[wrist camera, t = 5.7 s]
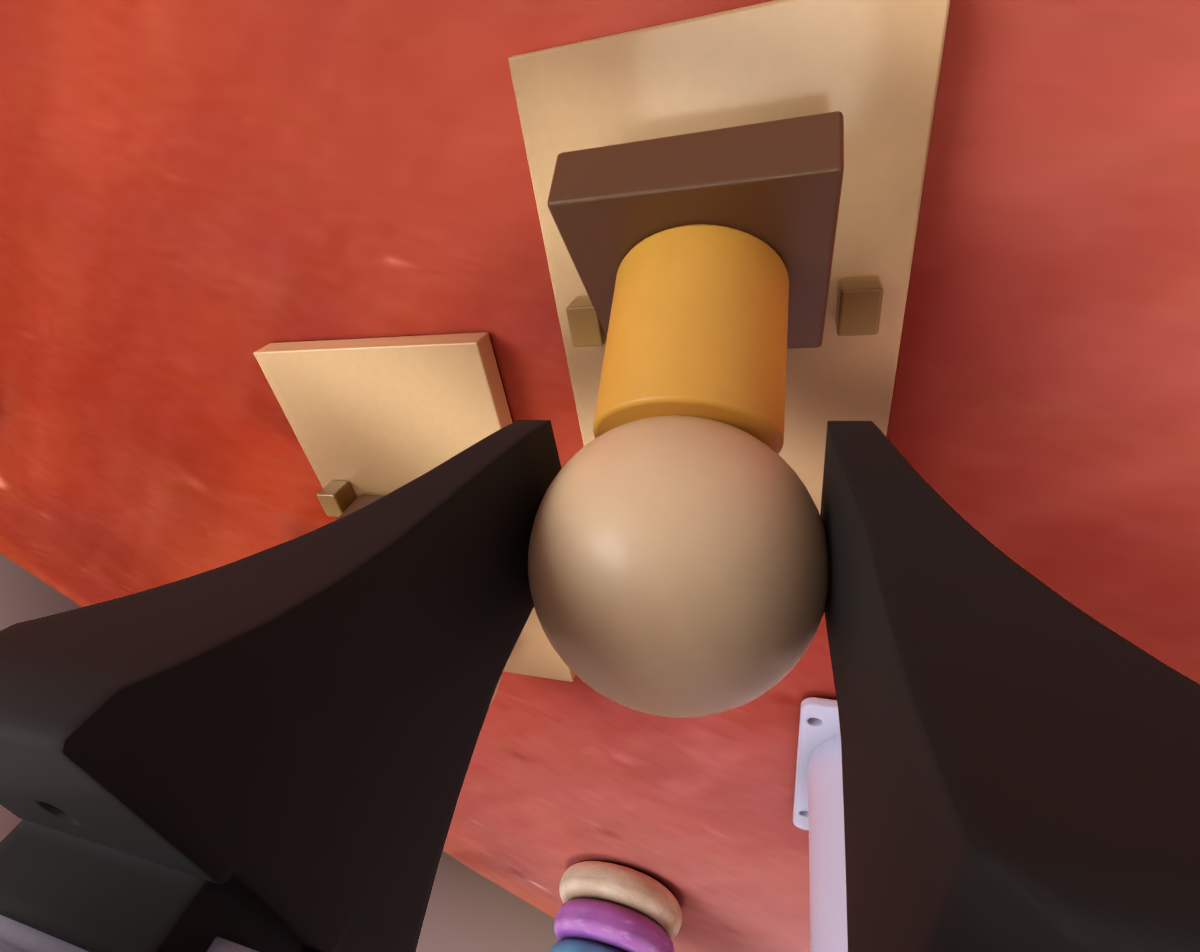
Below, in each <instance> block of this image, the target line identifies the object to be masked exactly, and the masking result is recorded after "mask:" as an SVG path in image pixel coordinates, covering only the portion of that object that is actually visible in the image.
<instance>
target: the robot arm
mask: <svg viewBox="0 0 1200 952" xmlns="http://www.w3.org/2000/svg"><path fill="white" fill-rule="evenodd" d="M560 470H561V465H560V461H559V456H558V452H557V447H556V443H555V439H554V434H553V430H552V425H551V421H550V420H519V421H516V422H514V423H512V424H509V425H507V426H505V427H503V428H502V429H500V430H498V431H496V432H494V433H492V434H491V435H489V436H487V437H486V438H484V439H482V440H480V441H479V442H477V443H475V444H474V445H472V446H470V447H469V448H467V449H465V450H464V451H462V452H460V453H459V454H457V455H455V456H454V457H452V458H450V459H449V460H447V461H445V462H444V463H442V464H440V465H439V466H437V467H435V468H433V469H432V470H430V471H428V472H427V473H425V474H423V475H421V476H420V477H418V478H416V479H414V480H412V481H411V482H409V483H407V484H405V485H403V486H402V487H400V488H398V489H396V490H394V491H393V492H391V493H389V494H387V495H385V496H384V497H382V498H380V499H378V500H376V501H375V502H373V503H371V504H369V505H367V506H365V507H363V508H361V509H359V510H357V511H355V512H353V513H351V514H349V515H347V516H345V517H343V518H340V519H338V520H336V521H334V522H332V523H329V524H327V525H325V526H323V527H321V528H318V529H316V530H314V531H312V532H310V533H307V534H305V535H303V536H300V537H298V538H295V539H293V540H290V541H288V542H285V543H283V544H280V545H277V546H275V547H272V548H270V549H267V550H264V551H262V552H259V553H257V554H254V555H251V556H249V557H246V558H244V559H241V560H238V561H236V562H233V563H230V564H228V565H225V566H222V567H219V568H216V569H213V570H210V571H207V572H204V573H201V574H198V575H195V576H192V577H189V578H186V579H182V580H179V581H176V582H172V583H169V584H166V585H163V586H159V587H156V588H153V589H149V590H146V591H143V592H139V593H136V594H132V595H128V596H125V597H121V598H118V599H114V600H110V601H106V602H102V603H98V604H94V605H90V606H86V607H82V608H78V609H74V610H70V611H66V612H63V613H58V614H54V615H50V616H47V617H42V618H38V619H34V620H30V621H25V622H21V623H17V624H14V625H12V626H10V627H8V628H6V629H4V630H2V631H0V804H1V805H2V806H3V807H5V808H6V809H8V810H9V811H11V812H12V813H13V814H15V815H16V816H18V817H19V818H21V819H23V820H22V821H21V822H20V823H19V824H18V825H17V826H16V827H15V828H14V829H13V830H12V831H11V832H10V833H9V834H8V835H7V836H6V837H5V838H4V839H3V840H2V841H1V842H0V952H415V951H416V947H417V943H418V939H419V935H420V932H421V928H422V924H423V920H424V916H425V912H426V909H427V905H428V901H429V897H430V894H431V890H432V886H433V882H434V879H435V875H436V871H437V867H438V863H439V860H440V857H441V854H442V850H443V847H444V844H445V840H446V837H447V833H448V830H449V827H450V823H451V820H452V817H453V813H454V810H455V807H456V803H457V800H458V796H459V793H460V790H461V787H462V784H463V781H464V778H465V775H466V772H467V769H468V766H469V763H470V760H471V757H472V754H473V751H474V748H475V745H476V742H477V739H478V736H479V733H480V730H481V728H482V725H483V722H484V719H485V717H486V714H487V711H488V708H489V705H490V703H491V700H492V697H493V694H494V692H495V689H496V686H497V684H498V681H499V679H500V677H501V674H502V672H503V670H504V668H505V665H506V663H507V661H508V659H509V657H510V655H511V652H512V650H513V648H514V646H515V644H516V642H517V640H518V638H519V636H520V634H521V632H522V630H523V628H524V626H525V624H526V622H527V620H528V618H529V616H530V614H531V612H532V609H533V607H534V603H533V599H532V595H531V591H530V585H529V577H528V550H529V542H530V536H531V532H532V528H533V523H534V520H535V516H536V514H537V511H538V509H539V506H540V503H541V501H542V499H543V497H544V495H545V493H546V491H547V489H548V487H549V486H550V484H551V483H552V481H553V480H554V478H555V477H556V475H557V474H558V472H559V471H560ZM820 517H821V520H822V522H823V525H824V528H825V534H826V540H827V547H828V561H829V588H828V595H827V601H826V605H825V610H824V612H825V619H826V627H827V634H828V641H829V648H830V655H831V662H832V669H833V676H834V684H835V691H836V698H837V700H831V699H824V698H817V697H809V698H806V699H804V700H803V701H802V703H801V710H800V724H799V738H798V752H797V766H796V780H795V794H794V808H793V823H794V825H795V826H796V827H798V828H800V829H803V830H807V831H809V877H810V947H811V952H1200V685H1199V684H1198V683H1196V682H1194V681H1192V680H1191V679H1189V678H1187V677H1186V676H1184V675H1182V674H1181V673H1179V672H1177V671H1175V670H1174V669H1172V668H1170V667H1169V666H1167V665H1165V664H1164V663H1162V662H1160V661H1159V660H1157V659H1156V658H1154V657H1153V656H1151V655H1149V654H1148V653H1146V652H1145V651H1143V650H1142V649H1140V648H1138V647H1137V646H1135V645H1134V644H1132V643H1131V642H1129V641H1127V640H1126V639H1124V638H1123V637H1121V636H1120V635H1118V634H1116V633H1115V632H1113V631H1112V630H1110V629H1109V628H1107V627H1105V626H1104V625H1102V624H1101V623H1099V622H1098V621H1096V620H1095V619H1093V618H1092V617H1090V616H1089V615H1087V614H1086V613H1084V612H1083V611H1081V610H1080V609H1078V608H1077V607H1075V606H1074V605H1072V604H1071V603H1070V602H1068V601H1067V600H1065V599H1064V598H1062V597H1061V596H1060V595H1058V594H1057V593H1056V592H1054V591H1053V590H1051V589H1050V588H1049V587H1047V586H1046V585H1045V584H1043V583H1042V582H1041V581H1039V580H1038V579H1037V578H1035V577H1034V576H1033V575H1031V574H1030V573H1029V572H1027V571H1026V570H1025V569H1023V568H1022V567H1021V566H1019V565H1018V564H1017V563H1015V562H1014V561H1013V560H1011V559H1010V558H1009V557H1008V556H1006V555H1005V554H1004V553H1003V552H1001V551H1000V550H999V549H998V548H996V547H995V546H994V545H993V544H992V543H990V542H989V541H988V540H987V539H986V538H985V537H984V536H982V535H981V534H980V533H979V532H978V531H977V530H976V529H974V528H973V527H972V526H971V525H970V524H969V523H968V522H966V521H965V520H964V519H963V518H962V517H961V516H960V515H959V514H958V513H957V512H956V511H955V510H954V509H953V508H951V507H950V506H949V505H948V504H947V503H946V502H945V501H944V500H943V499H942V498H941V496H940V495H939V494H938V493H937V492H936V491H935V490H934V489H933V488H932V487H931V486H930V485H929V484H928V483H927V482H926V481H925V480H924V479H923V478H922V477H921V476H920V475H919V474H918V473H917V472H916V471H915V470H914V468H913V467H912V466H911V465H910V464H909V463H908V462H907V461H906V459H905V458H904V457H903V456H902V455H901V454H900V453H899V451H898V450H897V449H896V448H895V447H894V446H893V444H892V443H891V442H890V441H889V440H888V438H887V437H886V436H885V435H884V434H883V433H882V431H881V430H880V429H879V428H878V427H877V426H876V425H875V424H874V423H873V422H872V421H827V434H826V446H825V459H824V472H823V485H822V498H821V511H820Z"/></svg>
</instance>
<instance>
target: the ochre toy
mask: <svg viewBox="0 0 1200 952" xmlns="http://www.w3.org/2000/svg"><path fill="white" fill-rule="evenodd" d="M843 172H844V117H843V114H842V112H840V111H835V112H829V113H822V114H815V115H809V116H802V117H795V118H789V119H782V120H775V121H769V122H762V123H755V124H749V125H742V126H736V127H729V128H722V129H716V130H709V131H702V132H696V133H689V134H682V135H676V136H669V137H663V138H656V139H649V140H643V141H636V142H629V143H623V144H616V145H609V146H603V147H596V148H590V149H583V150H576V151H570V152H563V153H560V154H559V155H558V156H557V161H556V165H555V170H554V174H553V179H552V184H551V188H550V193H549V197H548V202H547V205H548V208H549V210H550V213H551V215H552V217H553V219H554V221H555V224H556V226H557V228H558V230H559V232H560V235H561V237H562V239H563V241H564V243H565V246H566V248H567V250H568V252H569V254H570V256H571V259H572V261H573V263H574V265H575V267H576V270H577V272H578V274H579V276H580V278H581V281H582V283H583V285H584V287H585V289H586V292H587V294H588V296H589V298H590V300H591V303H592V305H593V307H594V309H595V311H596V314H597V316H598V318H599V320H600V322H601V325H602V327H603V329H604V331H605V333H606V336H607V339H606V346H605V352H604V359H603V365H602V371H601V378H600V384H599V390H598V397H597V403H596V410H595V416H594V422H593V433H594V437H595V439H594V440H592V441H591V442H590V443H588V444H587V445H586V446H584V447H583V448H582V449H580V450H579V451H578V452H577V453H576V454H575V455H574V456H573V457H572V458H571V459H570V460H569V461H568V462H567V463H566V464H565V465H564V467H563V468H562V469H561V470H560V471H559V472H558V474H557V475H556V477H555V478H554V480H553V481H552V483H551V484H550V486H549V487H548V489H547V491H546V493H545V495H544V497H543V499H542V501H541V503H540V506H539V509H538V511H537V514H536V516H535V520H534V523H533V528H532V532H531V536H530V542H529V550H528V577H529V585H530V591H531V595H532V599H533V603H534V607H535V611H536V614H537V617H538V619H539V622H540V624H541V626H542V629H543V631H544V633H545V635H546V637H547V638H548V640H549V642H550V644H551V645H552V647H553V648H554V650H555V651H556V652H557V654H558V655H559V656H560V658H561V659H562V660H563V662H564V663H565V664H566V665H567V666H568V667H569V668H570V669H571V670H572V671H573V672H574V673H575V674H576V675H577V676H578V677H579V678H580V679H581V680H582V681H583V682H584V683H585V684H587V685H588V686H589V687H591V688H592V689H593V690H595V691H596V692H597V693H599V694H601V695H602V696H604V697H606V698H608V699H610V700H611V701H613V702H615V703H617V704H620V705H622V706H625V707H628V708H630V709H633V710H635V711H639V712H643V713H647V714H651V715H655V716H661V717H672V718H692V717H703V716H708V715H713V714H718V713H723V712H725V711H728V710H731V709H734V708H737V707H740V706H742V705H744V704H746V703H748V702H750V701H752V700H753V699H755V698H757V697H759V696H761V695H762V694H764V693H765V692H766V691H768V690H769V689H771V688H772V687H773V686H775V685H776V684H777V683H779V682H780V681H781V680H782V679H783V678H784V677H785V676H786V675H787V674H788V673H789V672H790V671H791V670H792V669H793V668H794V666H795V665H796V664H797V663H798V661H799V660H800V659H801V657H802V656H803V655H804V653H805V652H806V651H807V649H808V647H809V645H810V643H811V642H812V640H813V638H814V636H815V634H816V632H817V630H818V627H819V624H820V622H821V619H822V617H823V614H824V610H825V605H826V601H827V595H828V588H829V561H828V547H827V540H826V534H825V528H824V525H823V522H822V520H821V517H820V514H819V511H818V509H817V507H816V505H815V503H814V501H813V499H812V497H811V495H810V494H809V492H808V490H807V488H806V486H805V485H804V483H803V482H802V481H801V479H800V478H799V476H798V475H797V474H796V472H795V471H794V470H793V469H792V468H791V467H790V466H789V464H788V463H787V462H786V461H785V460H784V459H783V458H782V457H781V456H780V455H779V453H780V451H781V449H782V448H783V444H784V423H785V393H786V363H787V349H798V348H818V347H820V346H821V345H822V340H823V332H824V324H825V316H826V308H827V300H828V292H829V284H830V276H831V268H832V260H833V252H834V244H835V236H836V228H837V220H838V212H839V204H840V196H841V188H842V180H843Z"/></svg>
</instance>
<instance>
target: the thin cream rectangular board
mask: <svg viewBox="0 0 1200 952" xmlns="http://www.w3.org/2000/svg"><path fill="white" fill-rule="evenodd" d="M254 355H255V357H256V359H257V361H258V363H259V365H260V367H261V369H262V371H263V373H264V375H265V377H266V379H267V380H268V382H269V384H270V386H271V388H272V390H273V392H274V394H275V396H276V398H277V400H278V402H279V404H280V406H281V408H282V410H283V411H284V413H285V415H286V417H287V419H288V421H289V423H290V425H291V427H292V429H293V431H294V433H295V435H296V437H297V439H298V441H299V442H300V444H301V446H302V448H303V450H304V452H305V454H306V456H307V458H308V460H309V462H310V464H311V466H312V468H313V470H314V472H315V473H316V475H317V477H318V479H319V481H320V483H321V485H322V487H323V489H322V490H321V491H319V492H318V493H317V498H318V500H319V501H320V503H321V505H322V507H323V509H324V511H325V513H326V515H327V516H332V517H339V516H340V515H341V514H342V513H343V512H344V511H345V510H346V509H347V508H348V507H349V506H350V505H351V504H352V503H353V502H354V501H355V500H356V499H357V498H358V497H359V496H360V495H374V496H385V495H387V494H389V493H391V492H393V491H394V490H396V489H398V488H400V487H402V486H403V485H405V484H407V483H409V482H411V481H412V480H414V479H416V478H418V477H420V476H421V475H423V474H425V473H427V472H428V471H430V470H432V469H433V468H435V467H437V466H439V465H440V464H442V463H444V462H445V461H447V460H449V459H450V458H452V457H454V456H455V455H457V454H459V453H460V452H462V451H464V450H465V449H467V448H469V447H470V446H472V445H474V444H475V443H477V442H479V441H480V440H482V439H484V438H486V437H487V436H489V435H491V434H492V433H494V432H496V431H498V430H500V429H502V428H503V427H505V426H507V425H509V424H512V423H513V422H512V419H511V415H510V411H509V407H508V404H507V400H506V396H505V393H504V389H503V385H502V381H501V378H500V374H499V370H498V367H497V363H496V359H495V355H494V352H493V348H492V344H491V341H490V337H489V333H488V332H481V333H462V334H442V335H422V336H402V337H383V338H363V339H343V340H323V341H304V342H284V343H270V344H268V345H266V346H264V347H263V348H261V349H259V350H257V351H255V352H254ZM503 672H509V673H516V674H522V675H529V676H536V677H543V678H549V679H556V680H563V681H569V682H573V680H574V677H575V675H576V674H575V673H574V672H573V671H572V670H571V669H570V668H569V667H568V666H567V665H566V664H565V663H564V662H563V660H562V659H561V658H560V656H559V655H558V654H557V652H556V651H555V650H554V648H553V647H552V645H551V644H550V642H549V640H548V638H547V637H546V635H545V633H544V631H543V629H542V626H541V624H540V622H539V619H538V617H537V614H536V611H535V607H533V609H532V612H531V614H530V616H529V618H528V620H527V622H526V624H525V626H524V628H523V630H522V632H521V634H520V636H519V638H518V640H517V642H516V644H515V646H514V648H513V650H512V652H511V655H510V657H509V659H508V661H507V663H506V665H505V668H504V670H503Z"/></svg>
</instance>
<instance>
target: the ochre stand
mask: <svg viewBox="0 0 1200 952" xmlns="http://www.w3.org/2000/svg"><path fill="white" fill-rule="evenodd" d="M949 6H950V0H774V1H770V2H765V3H760V4H755V5H751V6H746V7H741V8H736V9H732V10H727V11H722V12H718V13H713V14H708V15H703V16H699V17H694V18H689V19H684V20H680V21H675V22H670V23H666V24H661V25H656V26H651V27H647V28H642V29H637V30H632V31H628V32H623V33H618V34H614V35H609V36H604V37H599V38H595V39H590V40H585V41H581V42H576V43H571V44H566V45H562V46H557V47H552V48H547V49H543V50H538V51H533V52H529V53H524V54H519V55H514V56H511V57H509V66H510V71H511V76H512V81H513V86H514V92H515V97H516V102H517V107H518V112H519V117H520V122H521V127H522V132H523V138H524V143H525V148H526V153H527V158H528V163H529V168H530V173H531V178H532V184H533V189H534V194H535V199H536V204H537V209H538V214H539V219H540V225H541V230H542V235H543V240H544V245H545V250H546V255H547V260H548V265H549V271H550V276H551V281H552V286H553V291H554V296H555V301H556V306H557V311H558V317H559V322H560V327H561V332H562V337H563V342H564V347H565V352H566V358H567V363H568V368H569V373H570V378H571V383H572V388H573V393H574V398H575V404H576V409H577V414H578V419H579V424H580V429H581V434H582V439H583V444H584V446H586V445H587V444H588V443H590V442H591V441H592V440H594V439H595V437H594V433H593V422H594V416H595V410H596V403H597V397H598V390H599V384H600V378H601V371H602V365H603V359H604V352H605V346H606V339H607V336H606V333H605V331H604V329H603V327H602V325H601V322H600V320H599V318H598V316H597V314H596V311H595V309H594V307H593V305H592V303H591V300H590V298H589V296H588V294H587V292H586V289H585V287H584V285H583V283H582V281H581V278H580V276H579V274H578V272H577V270H576V267H575V265H574V263H573V261H572V259H571V256H570V254H569V252H568V250H567V248H566V246H565V243H564V241H563V239H562V237H561V235H560V232H559V230H558V228H557V226H556V224H555V221H554V219H553V217H552V215H551V213H550V210H549V208H548V205H547V202H548V197H549V193H550V188H551V184H552V179H553V174H554V170H555V165H556V161H557V156H558V155H559V154H560V153H563V152H570V151H576V150H583V149H590V148H596V147H603V146H609V145H616V144H623V143H629V142H636V141H643V140H649V139H656V138H663V137H669V136H676V135H682V134H689V133H696V132H702V131H709V130H716V129H722V128H729V127H736V126H742V125H749V124H755V123H762V122H769V121H775V120H782V119H789V118H795V117H802V116H809V115H815V114H822V113H829V112H835V111H840V112H842V114H843V117H844V172H843V180H842V188H841V196H840V204H839V212H838V220H837V228H836V236H835V244H834V252H833V260H832V268H831V276H830V284H829V292H828V300H827V308H826V316H825V324H824V332H823V340H822V345H821V346H820V347H818V348H798V349H787V363H786V393H785V423H784V444H783V448H782V449H781V451H780V453H779V455H780V456H781V457H782V458H783V459H784V460H785V461H786V462H787V463H788V464H789V466H790V467H791V468H792V469H793V470H794V471H795V472H796V474H797V475H798V476H799V478H800V479H801V481H802V482H803V483H804V485H805V486H806V488H807V490H808V492H809V494H810V495H811V497H812V499H813V501H814V503H815V505H816V507H817V509H818V511H819V514H820V511H821V498H822V485H823V472H824V459H825V446H826V434H827V421H872V422H873V423H874V424H875V425H876V426H877V427H878V428H879V429H880V430H881V431H882V433H883V434H884V435H885V436H887V430H888V423H889V416H890V409H891V402H892V395H893V389H894V382H895V375H896V368H897V361H898V354H899V348H900V341H901V334H902V327H903V320H904V313H905V307H906V300H907V293H908V286H909V279H910V272H911V266H912V259H913V252H914V245H915V238H916V231H917V225H918V218H919V211H920V204H921V197H922V190H923V184H924V177H925V170H926V163H927V156H928V149H929V143H930V136H931V129H932V122H933V115H934V108H935V102H936V95H937V88H938V81H939V74H940V67H941V61H942V54H943V47H944V40H945V33H946V26H947V20H948V13H949Z"/></svg>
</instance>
